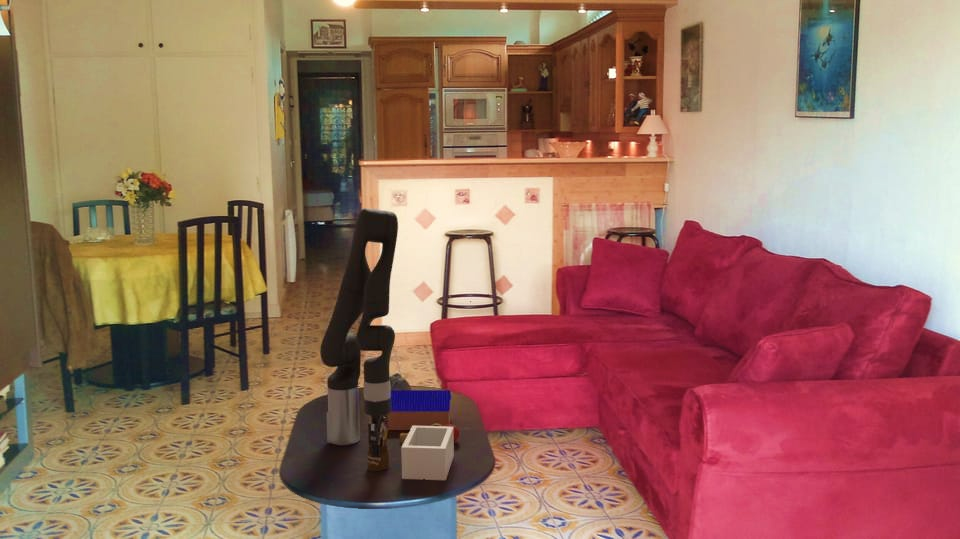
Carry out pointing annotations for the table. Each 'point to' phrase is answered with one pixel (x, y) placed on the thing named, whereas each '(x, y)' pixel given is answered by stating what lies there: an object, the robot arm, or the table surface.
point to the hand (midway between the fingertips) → (379, 451)
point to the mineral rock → (399, 383)
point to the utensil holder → (383, 459)
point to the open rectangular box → (427, 452)
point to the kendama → (456, 431)
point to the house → (418, 408)
